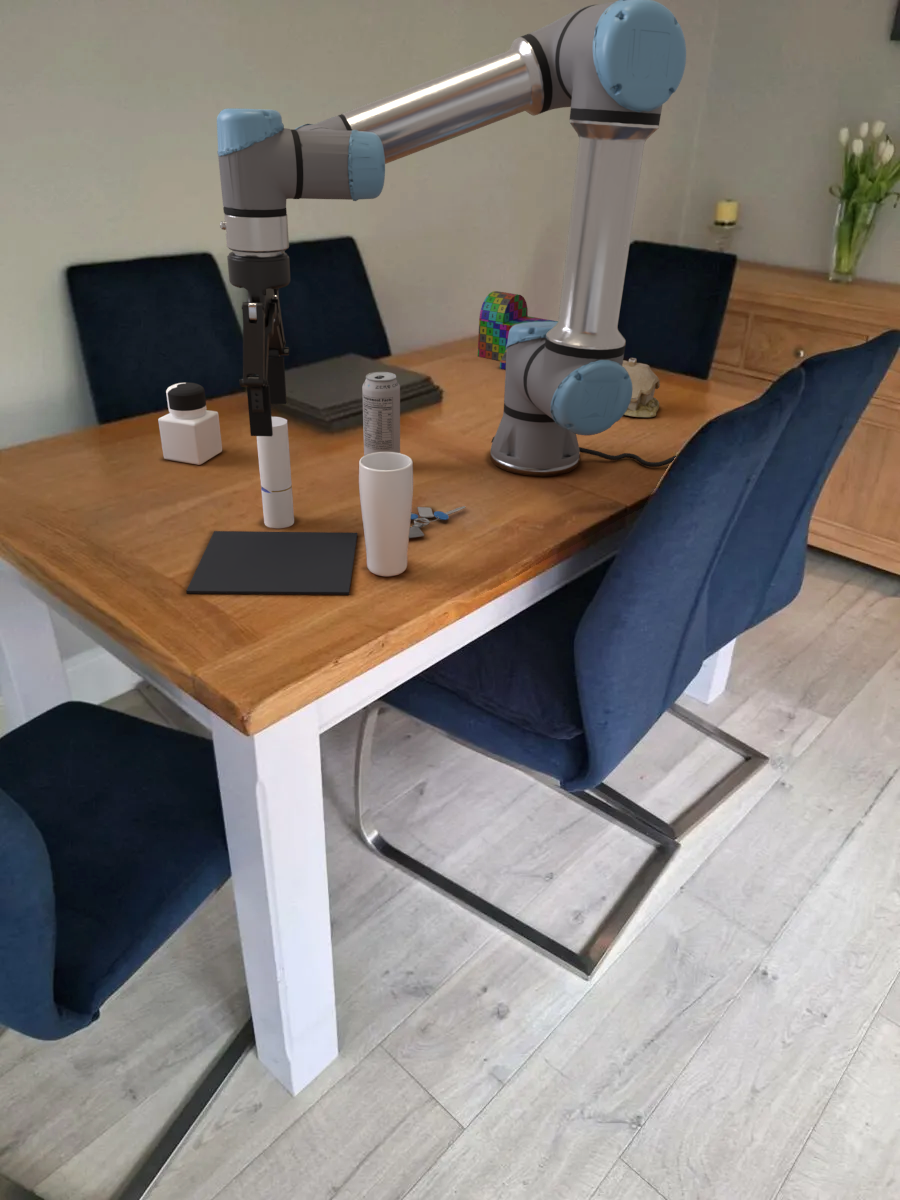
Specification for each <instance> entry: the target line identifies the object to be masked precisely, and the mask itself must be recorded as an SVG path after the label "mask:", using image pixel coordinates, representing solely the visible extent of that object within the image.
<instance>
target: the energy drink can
mask: <svg viewBox="0 0 900 1200" xmlns="http://www.w3.org/2000/svg"><path fill="white" fill-rule="evenodd" d="M361 386H362V387H361V388H362V426H363V430H362V431H363V456H365V455H368V454H371V453H376V452H396V453H401V385H400V383H399V381H398V380H397V375H396V374H395V373H393V372H390V371H389V372H388V371H373V372H369V373H367V374H366V375H365V380H364V382H363V384H362V385H361Z"/></svg>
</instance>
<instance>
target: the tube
mask: <svg viewBox="0 0 900 1200" xmlns="http://www.w3.org/2000/svg"><path fill="white" fill-rule="evenodd" d="M288 426H289V425H288V419H286V418H285V417H282V416H272V430H273V435H272V436H256V447H257V456H258V459H257V460H258V469H259V479H260V490H261V491H260V492H261V502H262V503H261V504H262V513H263V524H264V525H265V526H266V527H267V528H270V529H286V528H289V527H291V526H293V525H294V524H295V515H294V514H295V511H294V510H295V509H294V498H293V497H294V496H293V482H292V468H291V454H290V441H289V428H288Z"/></svg>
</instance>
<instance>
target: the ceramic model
mask: <svg viewBox="0 0 900 1200" xmlns="http://www.w3.org/2000/svg"><path fill="white" fill-rule="evenodd" d="M622 366H623V367H624V368H625V369H626V371H627V372H628V375H629V376H630V378H631V381H632V397H631V401H630V404H629V406H628V408H627V410H626V412H625V413H624V415H623V416H628V417H635V418H653V417H656V415H657V412H658V411H659V409H660V401H659V400H658V399H657V397H655V392H656V390H659V389H660V387H661V386H660V385H661V384H660V382H661V381H660V379H659V377H658V376H657V375H656V373H655V372H654V371H653V370H652V368H651V366H650V365H648V364H647V363H642V362H637V358H636V357H630V358H629V359H628V360H625V359H623V364H622Z"/></svg>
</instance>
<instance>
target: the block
mask: <svg viewBox="0 0 900 1200" xmlns="http://www.w3.org/2000/svg"><path fill="white" fill-rule="evenodd" d="M528 312H529V311H528V304H527V301H526V298H525V297H524V296H523V295H522V294H518V293H511V292H505V291H500V290H499V291H498V290H493V291H491V292H489V293H488V295H486V297H485V298H484V301H483V302H482V305H481V308H480V312H479V319H478V337H477V339H478V340H477V357H479V358H483V359H488V360H493V361H499V369H501V370H506V354H507V349H506V345H507V341H508V334H509V330H510V329H511V327H512V326H514V325H516V324H520V323H527V322H558V320H552V319H547V318H540V317H535V316H528V315H529V314H528Z"/></svg>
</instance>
